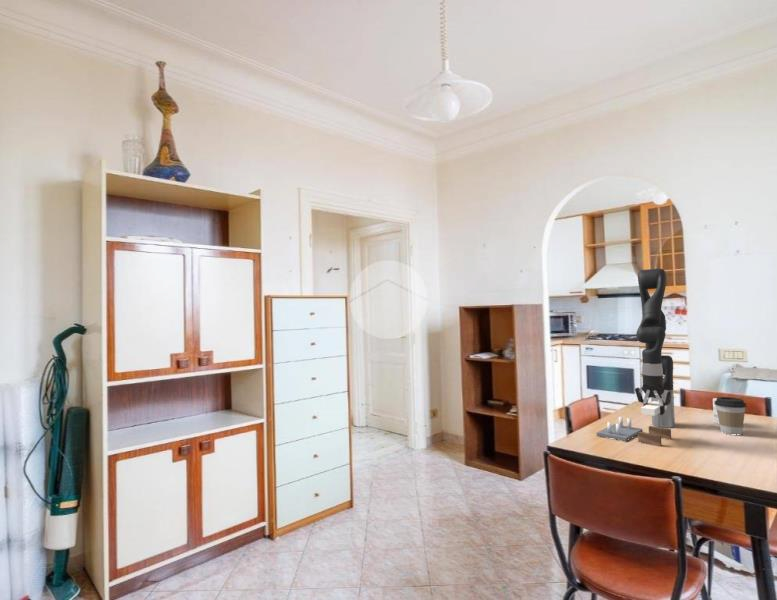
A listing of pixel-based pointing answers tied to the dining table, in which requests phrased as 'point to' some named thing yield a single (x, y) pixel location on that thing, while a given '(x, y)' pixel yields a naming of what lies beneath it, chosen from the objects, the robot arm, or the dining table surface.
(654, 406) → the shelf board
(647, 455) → the dining table surface
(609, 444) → the dining table surface
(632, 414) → the dining table surface
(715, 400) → the ink box
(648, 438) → the rails
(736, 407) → the coffee cup
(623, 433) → the peg rack
